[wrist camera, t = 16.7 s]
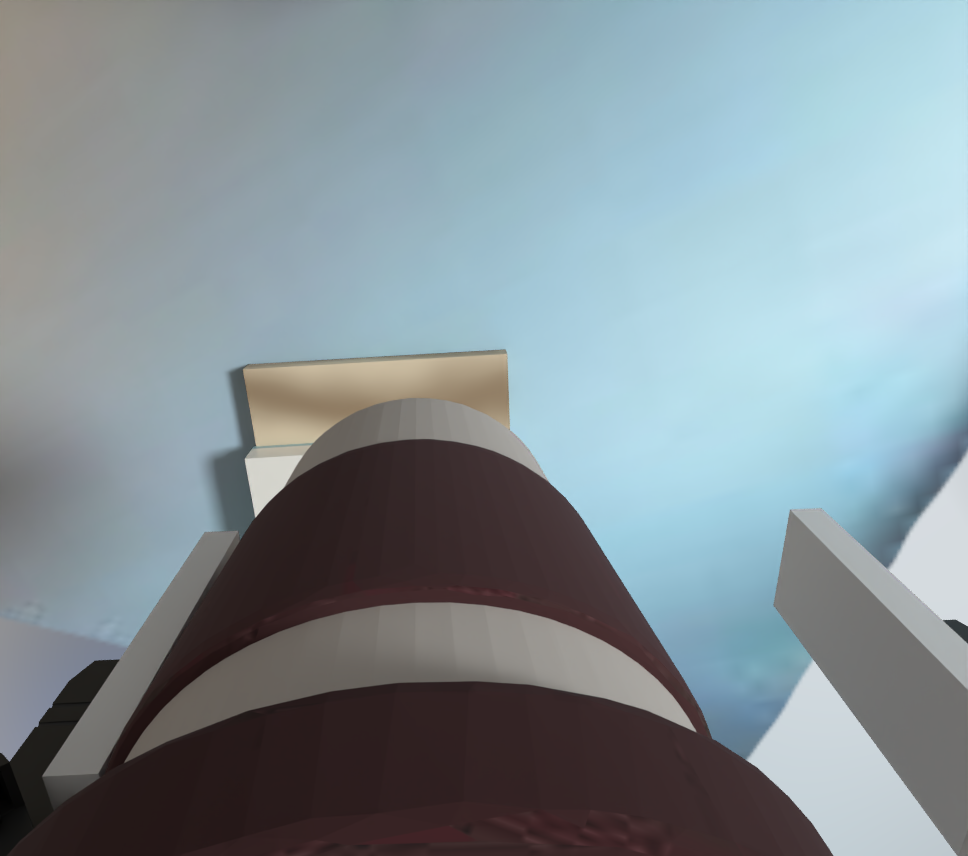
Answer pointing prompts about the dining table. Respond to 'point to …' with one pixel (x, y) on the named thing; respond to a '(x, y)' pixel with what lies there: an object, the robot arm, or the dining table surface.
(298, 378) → the board
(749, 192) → the dining table surface
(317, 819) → the coffee cup
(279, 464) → the tile
